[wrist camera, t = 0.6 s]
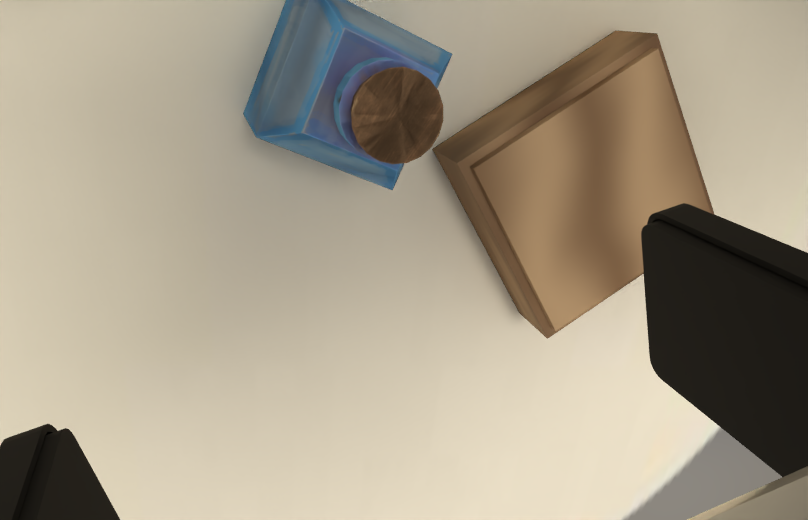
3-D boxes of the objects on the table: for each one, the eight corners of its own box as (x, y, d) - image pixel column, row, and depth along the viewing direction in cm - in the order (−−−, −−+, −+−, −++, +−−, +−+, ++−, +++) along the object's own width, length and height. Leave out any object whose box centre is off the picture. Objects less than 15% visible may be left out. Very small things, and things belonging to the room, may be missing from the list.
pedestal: (616, 30, 36) (663, 33, 33) (676, 206, 42) (723, 225, 38) (432, 149, 35) (460, 165, 32) (519, 312, 41) (551, 342, 37)
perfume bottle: (358, 160, 34) (438, 231, 24) (243, 113, 32) (274, 170, 21) (407, 45, 33) (515, 66, 22) (290, -13, 31) (350, -20, 20)
